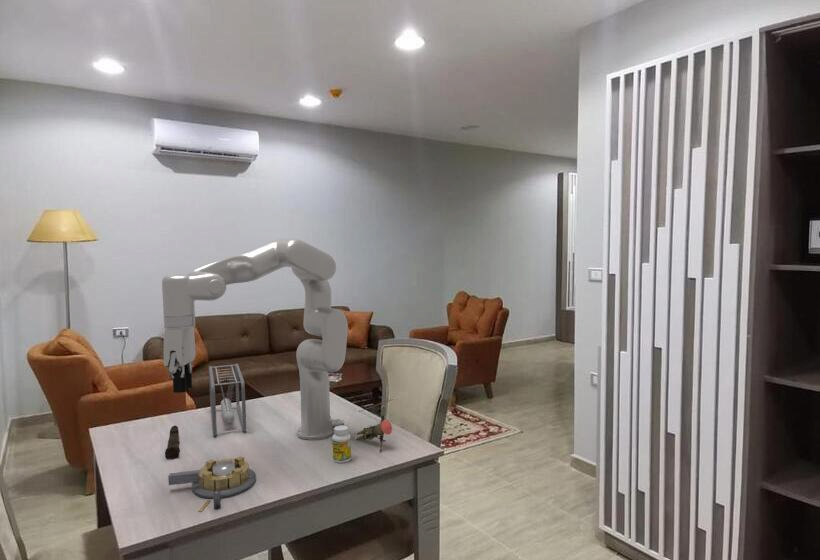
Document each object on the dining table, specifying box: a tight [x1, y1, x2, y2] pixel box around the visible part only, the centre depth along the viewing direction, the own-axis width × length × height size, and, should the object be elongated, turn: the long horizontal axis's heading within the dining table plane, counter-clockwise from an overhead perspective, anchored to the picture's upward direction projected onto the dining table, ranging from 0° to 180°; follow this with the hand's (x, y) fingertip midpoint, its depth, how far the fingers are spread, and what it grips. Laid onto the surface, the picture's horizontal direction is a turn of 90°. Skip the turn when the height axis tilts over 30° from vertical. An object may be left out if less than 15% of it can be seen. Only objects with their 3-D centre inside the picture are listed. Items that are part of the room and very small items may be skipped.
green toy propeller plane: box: [353, 396, 400, 454], centre depth 162 cm, size 16×10×20 cm
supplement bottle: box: [331, 425, 352, 464], centre depth 152 cm, size 5×5×10 cm
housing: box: [191, 461, 257, 513], centre depth 135 cm, size 16×21×5 cm
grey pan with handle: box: [167, 455, 250, 491], centre depth 136 cm, size 20×12×4 cm, turn 104°
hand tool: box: [164, 425, 181, 460], centre depth 162 cm, size 19×4×5 cm, turn 20°
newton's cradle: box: [208, 363, 247, 437], centre depth 184 cm, size 30×10×18 cm, turn 23°
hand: (182, 389), depth 138 cm, fingers open, 3 cm apart
